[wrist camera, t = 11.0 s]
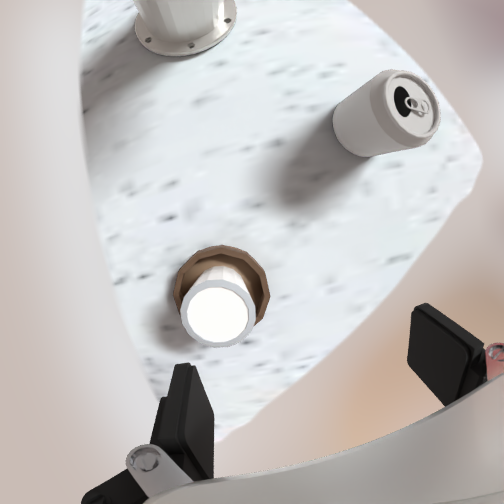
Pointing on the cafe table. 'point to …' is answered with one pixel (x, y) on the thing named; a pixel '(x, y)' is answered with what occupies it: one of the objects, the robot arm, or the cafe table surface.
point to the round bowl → (231, 259)
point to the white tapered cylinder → (218, 308)
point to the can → (387, 115)
